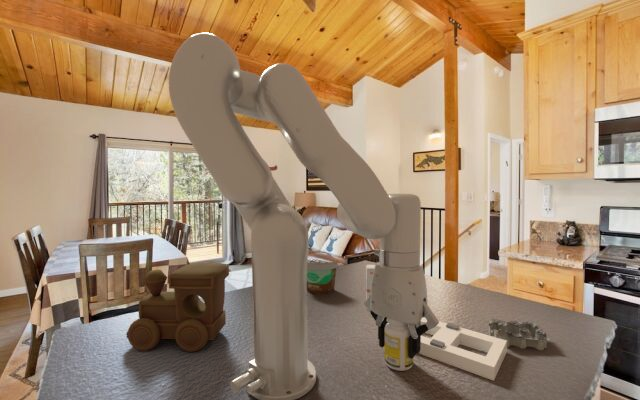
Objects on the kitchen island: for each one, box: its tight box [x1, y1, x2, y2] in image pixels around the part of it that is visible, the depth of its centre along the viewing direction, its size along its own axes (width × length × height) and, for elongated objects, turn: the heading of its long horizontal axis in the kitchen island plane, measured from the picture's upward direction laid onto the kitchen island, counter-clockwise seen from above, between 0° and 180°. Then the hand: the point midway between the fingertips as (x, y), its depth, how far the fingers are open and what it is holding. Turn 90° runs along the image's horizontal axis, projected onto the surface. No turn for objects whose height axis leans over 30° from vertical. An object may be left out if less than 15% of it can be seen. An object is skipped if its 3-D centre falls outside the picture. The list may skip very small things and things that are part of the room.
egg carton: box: [486, 318, 551, 351], centre depth 69 cm, size 11×8×4 cm
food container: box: [307, 259, 339, 295], centre depth 101 cm, size 12×6×10 cm, turn 73°
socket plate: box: [418, 317, 508, 382], centre depth 67 cm, size 12×21×3 cm, turn 50°
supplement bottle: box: [384, 318, 414, 372], centre depth 61 cm, size 5×5×10 cm
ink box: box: [365, 264, 375, 311], centre depth 88 cm, size 9×5×12 cm, turn 84°
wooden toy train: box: [126, 262, 230, 353], centre depth 70 cm, size 20×11×17 cm, turn 87°
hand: (398, 348), depth 61 cm, fingers closed on supplement bottle, 5 cm apart
